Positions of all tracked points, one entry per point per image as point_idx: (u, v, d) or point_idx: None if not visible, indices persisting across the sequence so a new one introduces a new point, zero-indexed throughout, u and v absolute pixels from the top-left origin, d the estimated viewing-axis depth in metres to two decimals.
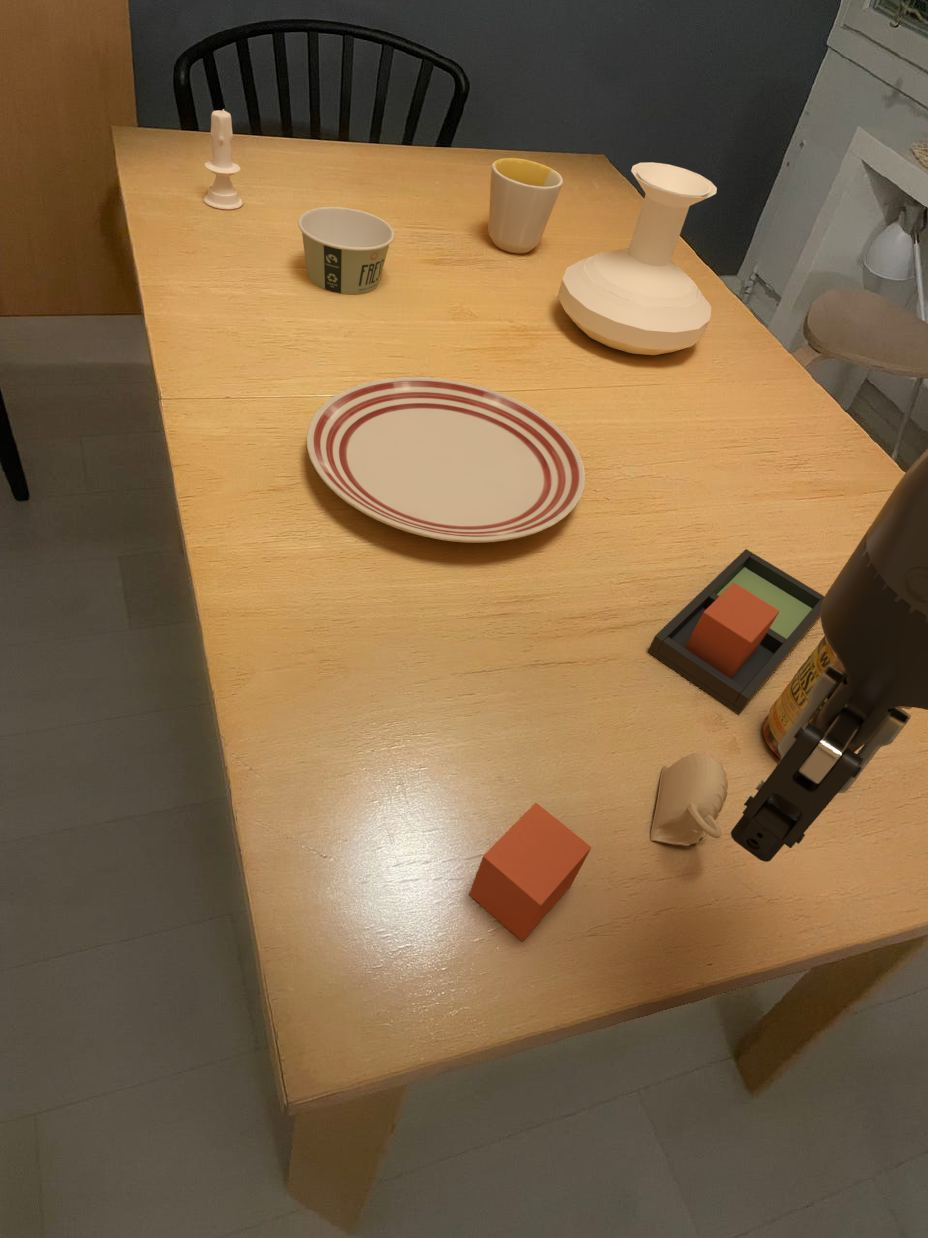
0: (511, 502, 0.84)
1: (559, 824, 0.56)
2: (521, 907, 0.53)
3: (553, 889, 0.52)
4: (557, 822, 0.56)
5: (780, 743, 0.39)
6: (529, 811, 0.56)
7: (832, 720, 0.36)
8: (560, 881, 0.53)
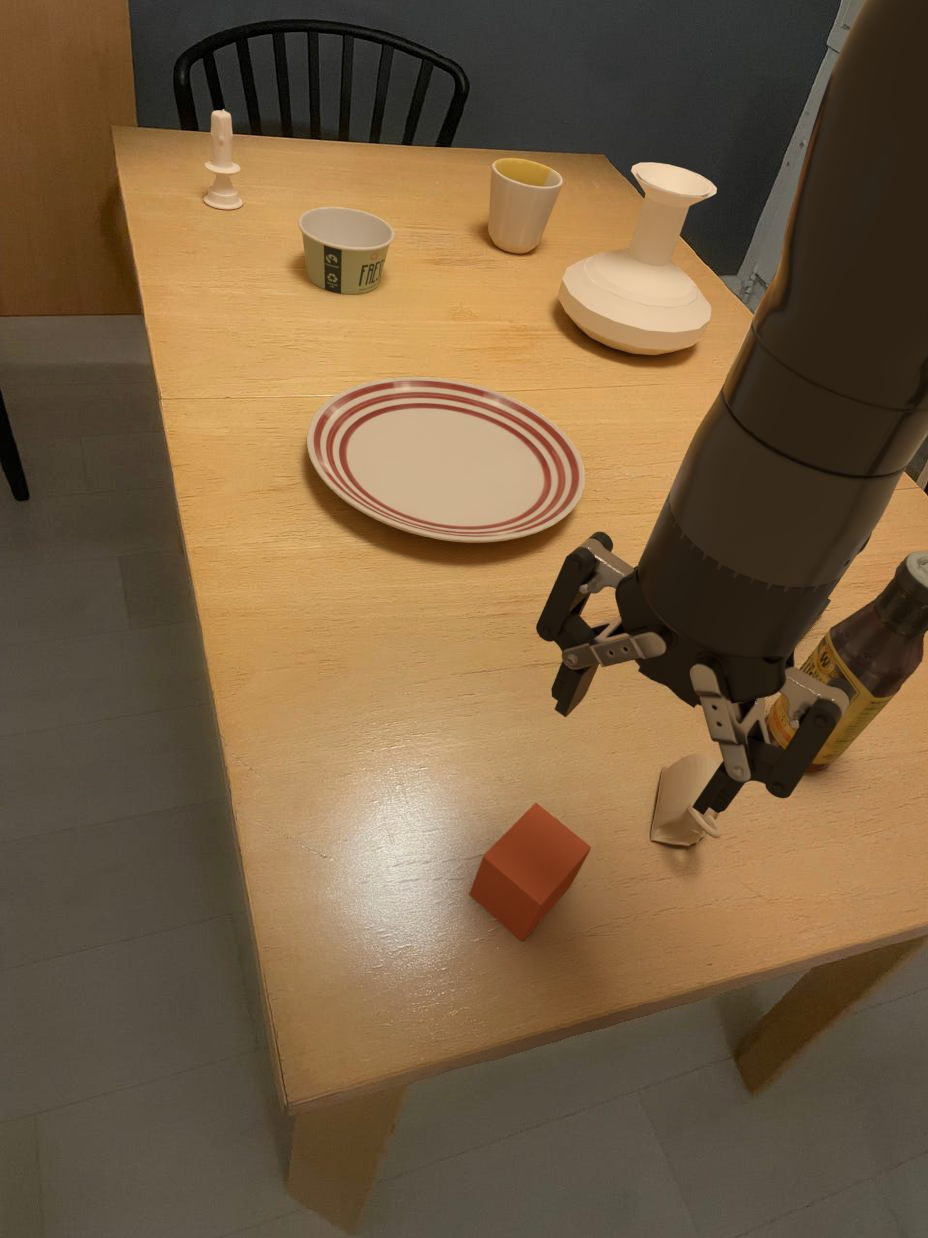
0: (511, 502, 0.84)
1: (559, 824, 0.56)
2: (521, 907, 0.53)
3: (553, 889, 0.52)
4: (557, 822, 0.56)
5: None
6: (529, 811, 0.56)
7: None
8: (560, 881, 0.53)
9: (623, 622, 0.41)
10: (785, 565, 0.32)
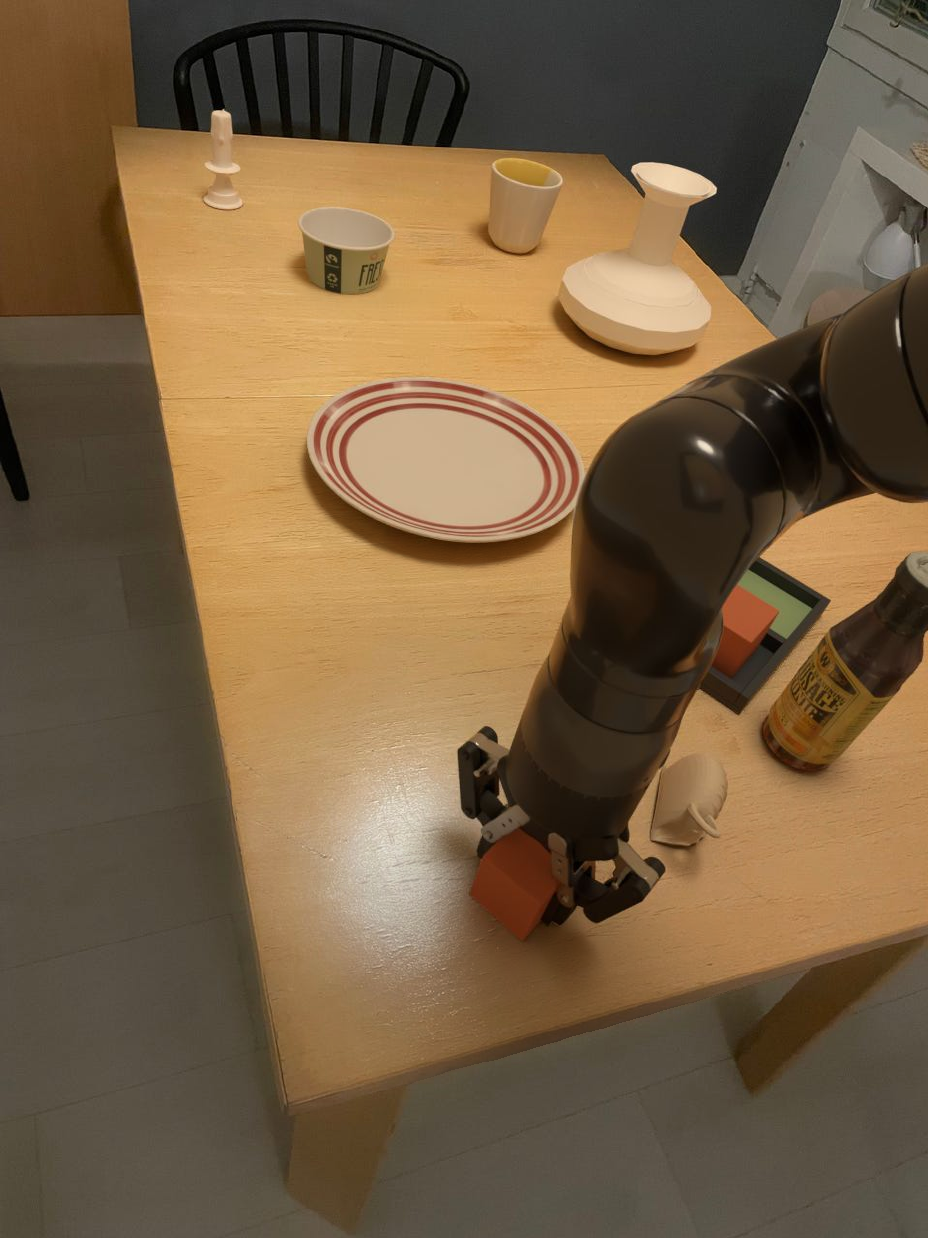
0: (511, 502, 0.84)
1: None
2: (521, 907, 0.53)
3: (553, 889, 0.52)
4: None
5: None
6: None
7: None
8: None
9: (503, 790, 0.51)
10: (594, 784, 0.42)
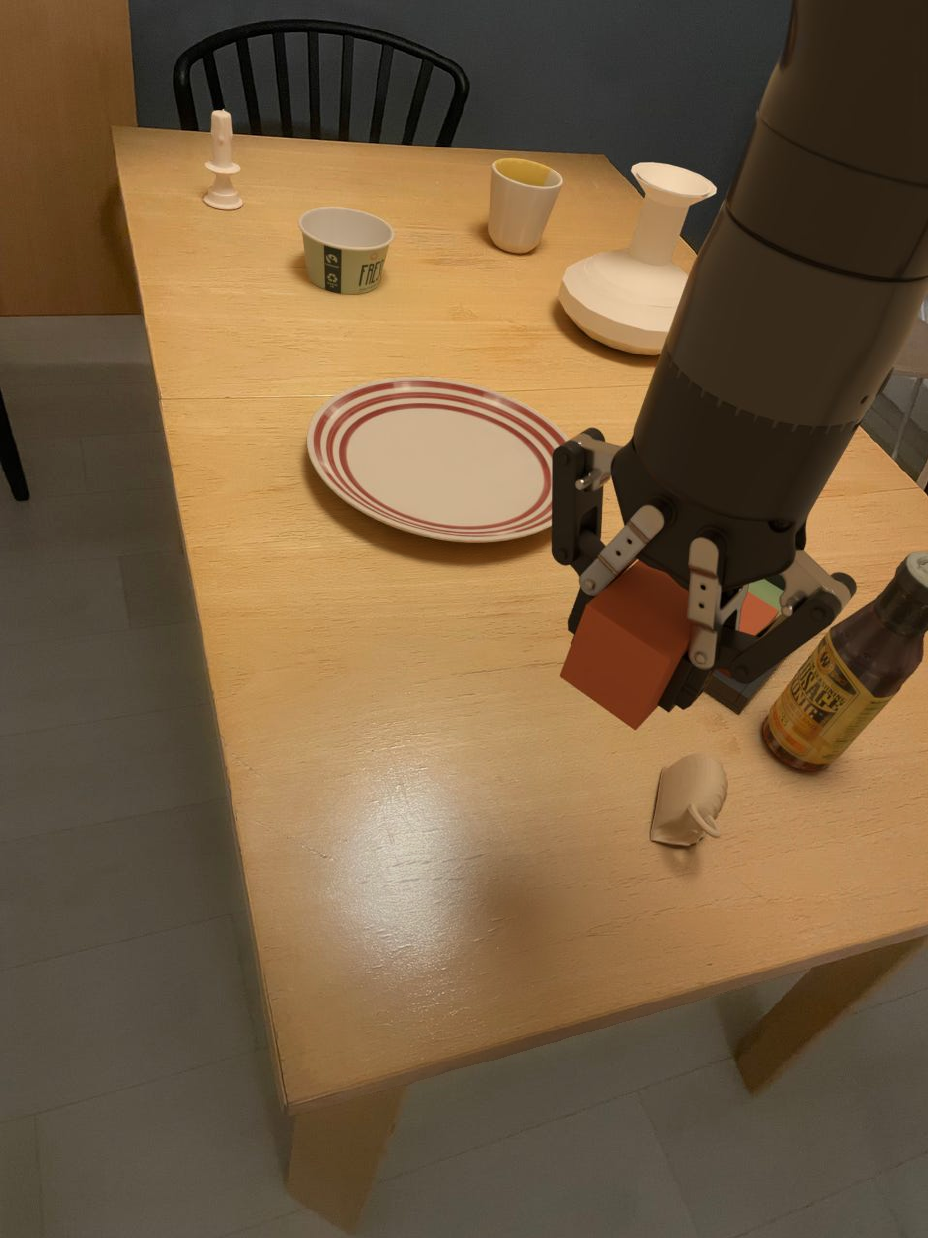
0: (511, 502, 0.84)
1: None
2: (638, 674, 0.39)
3: (684, 644, 0.38)
4: None
5: None
6: None
7: None
8: None
9: (619, 501, 0.37)
10: (793, 396, 0.28)
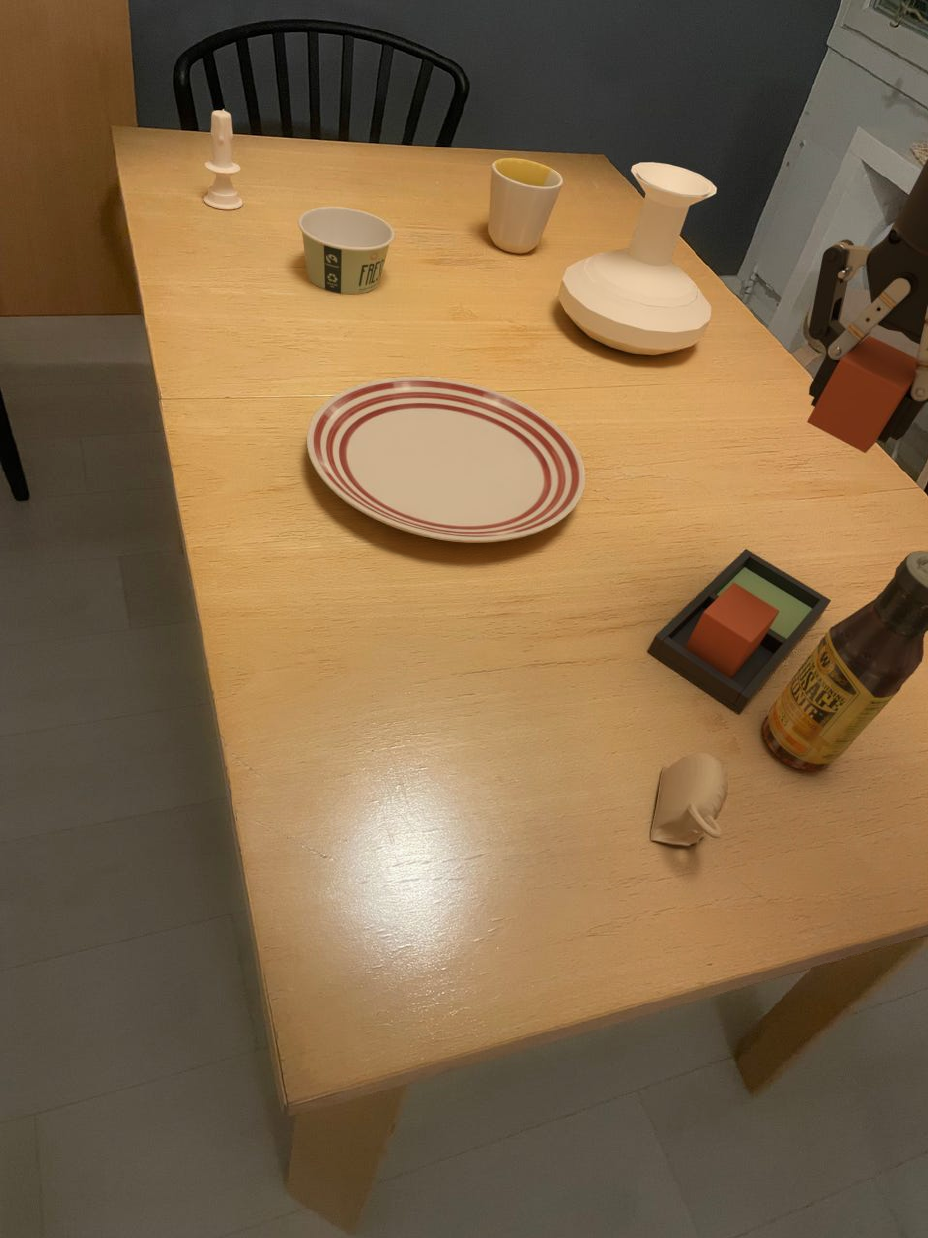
0: (511, 502, 0.84)
1: (895, 349, 0.60)
2: (875, 405, 0.58)
3: (909, 382, 0.57)
4: (893, 347, 0.60)
5: None
6: (866, 339, 0.61)
7: None
8: None
9: (871, 282, 0.56)
10: None
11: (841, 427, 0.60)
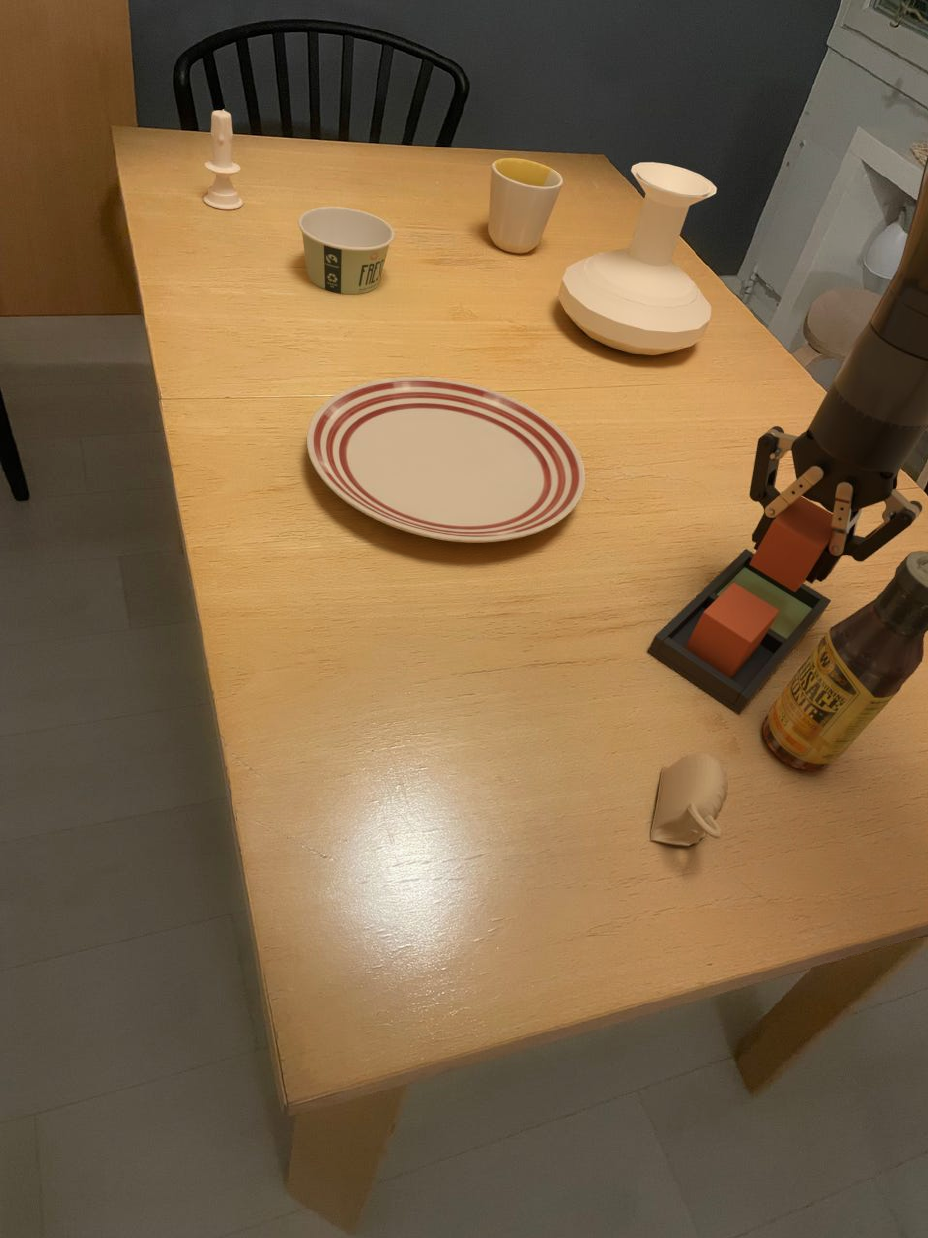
0: (511, 502, 0.84)
1: (820, 508, 0.75)
2: (801, 558, 0.73)
3: (827, 541, 0.72)
4: (818, 507, 0.75)
5: None
6: (797, 499, 0.75)
7: None
8: None
9: (795, 464, 0.71)
10: (901, 412, 0.62)
11: (775, 571, 0.75)
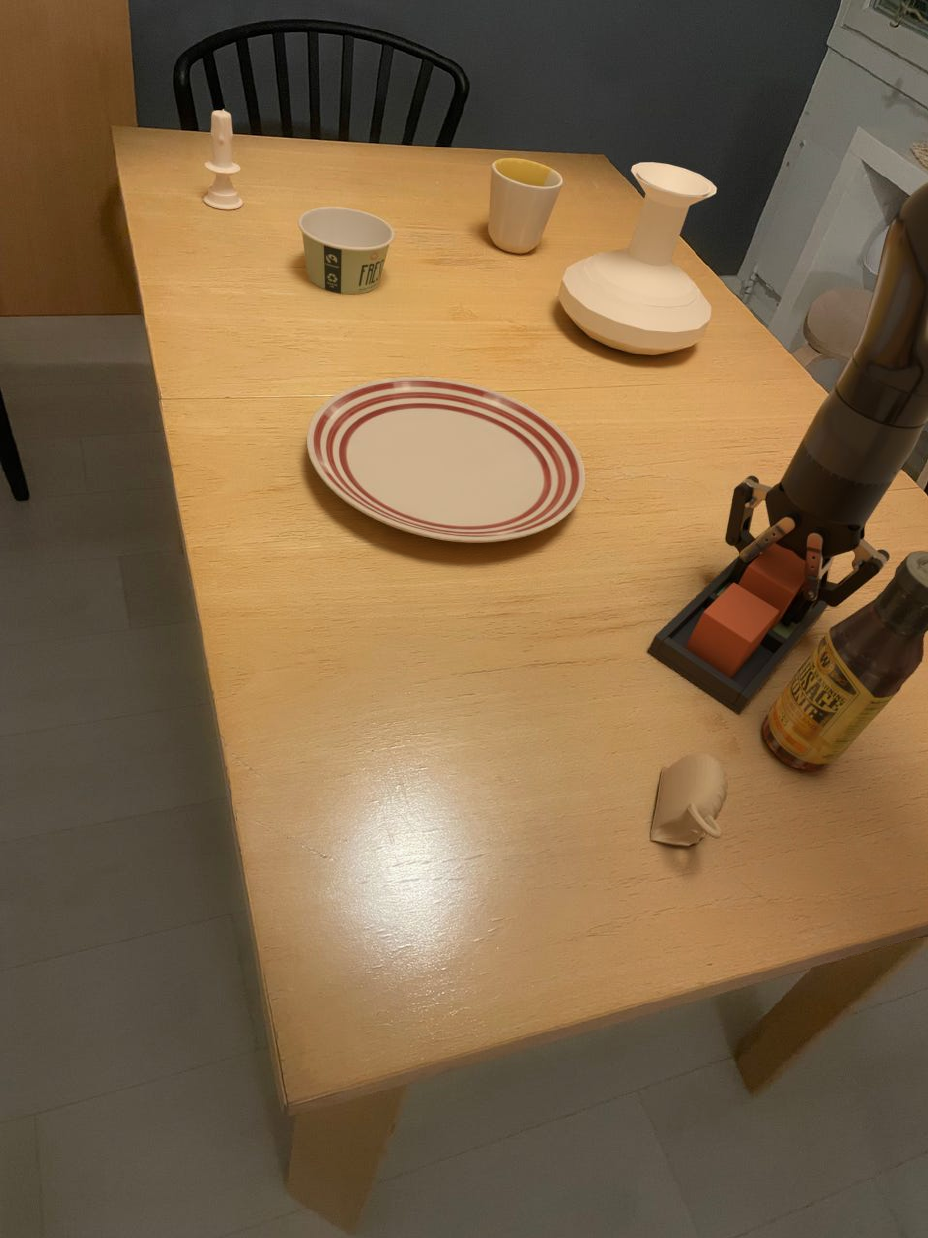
0: (511, 502, 0.84)
1: (793, 552, 0.79)
2: (775, 601, 0.76)
3: (799, 586, 0.75)
4: (792, 551, 0.79)
5: None
6: None
7: (772, 488, 0.75)
8: (803, 582, 0.76)
9: (769, 514, 0.75)
10: (864, 471, 0.65)
11: None
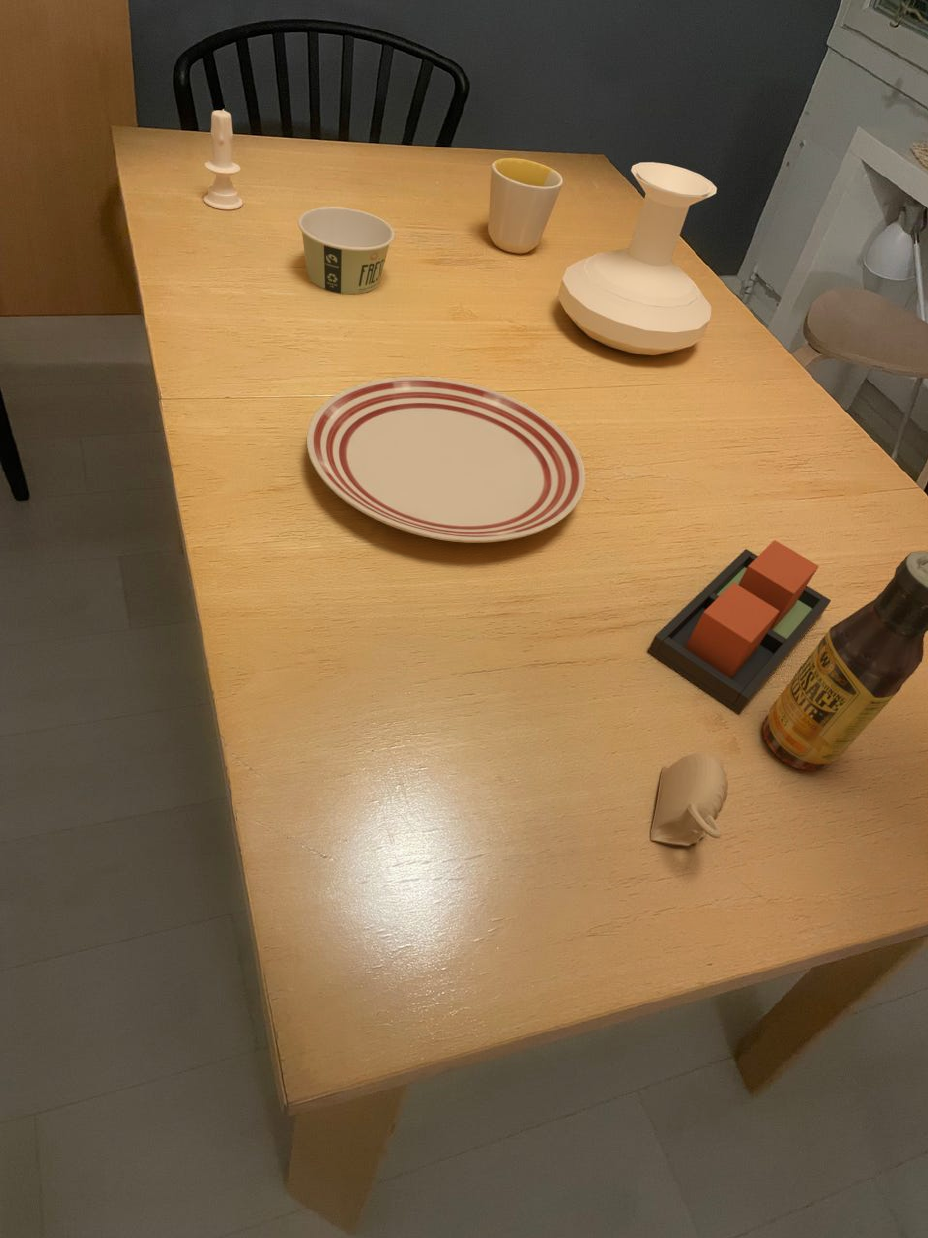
0: (511, 502, 0.84)
1: (793, 552, 0.79)
2: (775, 601, 0.76)
3: (799, 586, 0.75)
4: (792, 551, 0.79)
5: None
6: (771, 544, 0.79)
7: None
8: (803, 582, 0.76)
9: None
10: None
11: None
